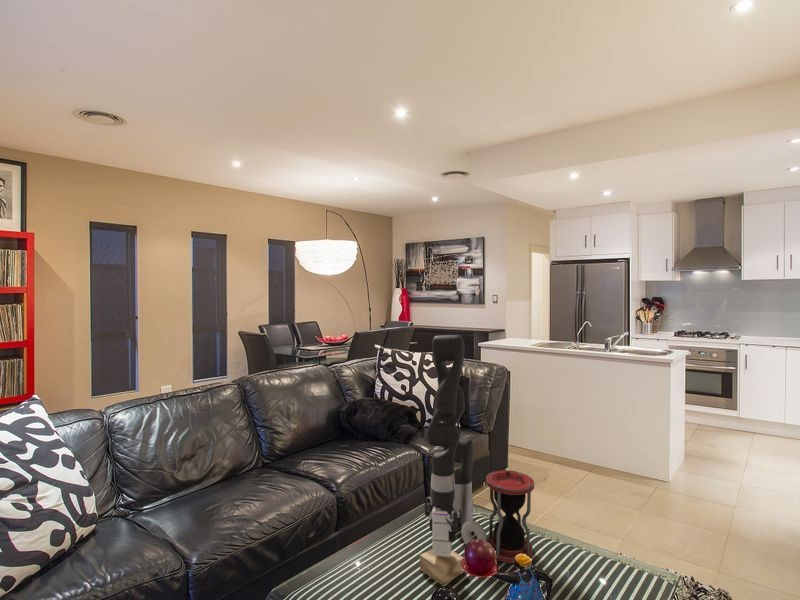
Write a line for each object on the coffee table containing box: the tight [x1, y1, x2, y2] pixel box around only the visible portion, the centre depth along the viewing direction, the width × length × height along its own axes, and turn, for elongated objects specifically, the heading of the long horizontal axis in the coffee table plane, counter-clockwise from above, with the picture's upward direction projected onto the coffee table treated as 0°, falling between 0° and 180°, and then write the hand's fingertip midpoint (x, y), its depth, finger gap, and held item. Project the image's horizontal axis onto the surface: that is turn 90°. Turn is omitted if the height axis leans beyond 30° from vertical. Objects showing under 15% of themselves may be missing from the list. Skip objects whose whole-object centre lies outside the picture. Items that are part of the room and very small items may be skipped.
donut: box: [460, 520, 488, 545], centre depth 166 cm, size 10×4×10 cm, turn 47°
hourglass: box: [485, 470, 535, 564], centre depth 165 cm, size 16×16×25 cm
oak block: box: [419, 548, 465, 585], centre depth 154 cm, size 10×10×5 cm
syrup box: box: [431, 506, 453, 557], centre depth 153 cm, size 6×6×14 cm
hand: (442, 535), depth 153 cm, fingers closed on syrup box, 7 cm apart
